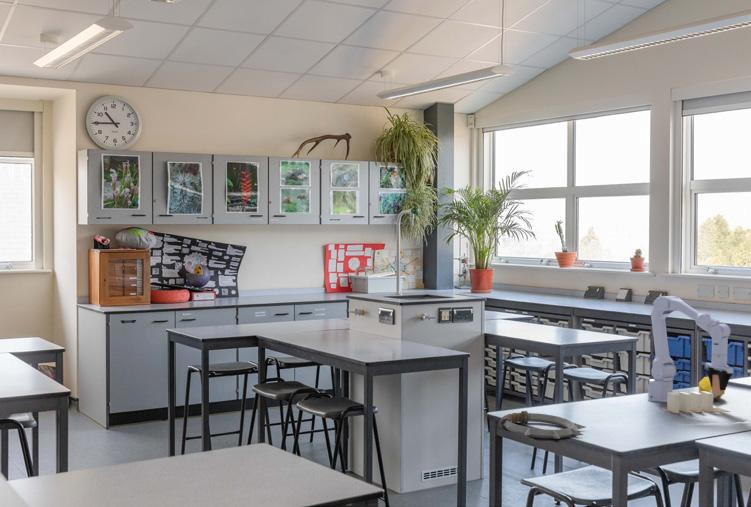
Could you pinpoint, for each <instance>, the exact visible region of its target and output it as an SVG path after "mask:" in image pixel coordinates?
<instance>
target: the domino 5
mask: <svg viewBox="0 0 751 507" xmlns="http://www.w3.org/2000/svg"><path fill="white" fill-rule="evenodd" d="M725 391H726V390H720V385H719V377H718V374H713V377H712V392H714V393H717V394H723V395H725V393H726V392H725Z"/></svg>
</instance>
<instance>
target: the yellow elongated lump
mask: <svg viewBox="0 0 751 507" xmlns="http://www.w3.org/2000/svg"><path fill="white" fill-rule="evenodd" d="M701 391H706V392H709V393H713V402H716V401H718V400H719V399H720V398H721V397H723V395H724V394H717V393H714V392H712V387H711V384H710V380H709V377H708V376H704V377H703V378H702V379H701V380H700V381H699V382H698V393H700V394H701Z"/></svg>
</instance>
